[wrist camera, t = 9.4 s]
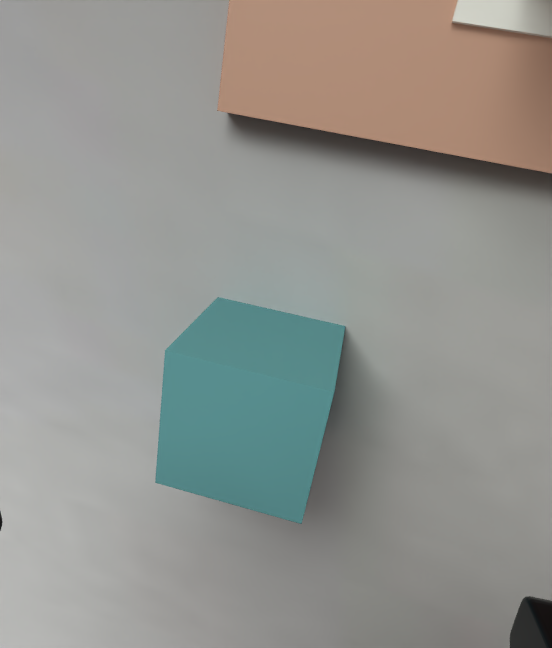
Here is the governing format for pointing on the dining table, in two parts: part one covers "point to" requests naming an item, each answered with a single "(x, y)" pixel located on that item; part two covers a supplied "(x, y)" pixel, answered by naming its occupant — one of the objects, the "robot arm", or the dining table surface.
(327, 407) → the teal block
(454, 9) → the baseplate
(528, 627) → the robot arm
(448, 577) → the dining table surface
